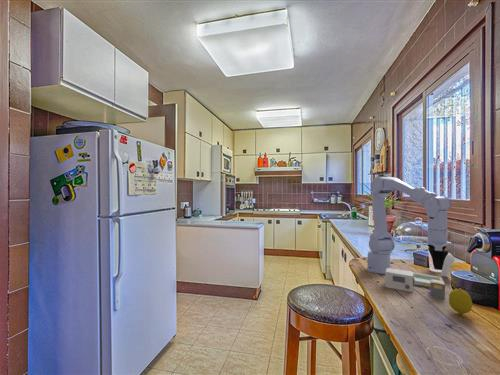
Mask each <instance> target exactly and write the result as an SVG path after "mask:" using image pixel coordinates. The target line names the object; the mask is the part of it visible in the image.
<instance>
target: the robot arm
mask: <svg viewBox="0 0 500 375" xmlns="http://www.w3.org/2000/svg"><path fill="white" fill-rule="evenodd" d="M370 186H371V187H370V188H371V193H370V194H371V205H372V207H371V208H372V218H373V232H372V233H371V234H370V235H369V240H368V248H369V249H370V250H368V252H367V272H368V273H373V274H380V275H385V276H386V269H387V268H391V254H392V252H393V251H394V250H395V242H394V240H393V235H392V234H391V233H390V232H388V222H387V212H386V211H387V210H386V200H385V198H386V197H387V196H389V195H390V194H392V193H393V192H394V191H396V190H397V191H399V192H401V193H404V194H405V195H408V196H409V199H410V200H411V201H413V202H415V203H416V204H418V205H420V206H422V207H423V208H424V210H425V212H426V216H427V240H426V243H427V245H426V246H427V247H428V248H427V252H428V251H429V252H430V254H431V257H432V261H433V266H434V269H436V270H442V268H443V264H444V260H445V258H446V256H447V254H448V253H450V252H449V250H445V249H447V246H452V242H450V241H448V211H450V210H451V208H452V200H450V199H449V198H448V197H447V196H446V195H440V196H438V194H437V193H436V192H431V191H429V190H427V189H426V187H424V186H418V187H413V186H412V185H409V184H408V183H406V182H404V181H402V180H401V179H400V178H397V177H395V176H385V177H384V176H376V177H374V178H373V179H372V180H371V182H370Z"/></svg>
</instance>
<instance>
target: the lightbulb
mask: <svg viewBox="0 0 500 375" xmlns="http://www.w3.org/2000/svg"><path fill="white" fill-rule="evenodd" d="M454 263H455V257H454V255H452V253H450V252H449V253H448V254H447V256H446V258H445V260H444V264H443V268H442V270H441V272H440V273H441V276H443V277H444V278H447V277H449V276H450V271H451V267H452V265H453V264H454Z"/></svg>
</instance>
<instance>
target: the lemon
mask: <svg viewBox="0 0 500 375" xmlns="http://www.w3.org/2000/svg"><path fill="white" fill-rule="evenodd" d="M448 296H449V297H448V302H449V305H450V307H451V309H452V310H454V311H455V312H457V313H458V314H459V315H463V314H467V313H470V312H471V310H472V309H473V300H472V297H471V295H470V294H469V293H468V292H467V291H466V290H464V289H462V288H461V287H460V288H456V289H453V290H451V291H450V293H449V295H448Z"/></svg>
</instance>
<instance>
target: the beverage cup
mask: <svg viewBox="0 0 500 375" xmlns="http://www.w3.org/2000/svg"><path fill="white" fill-rule="evenodd" d="M427 253H428V264H429V271H431V272H433V273H434V272H435V273H442V272H441V270H436V269H434V266H433V261H432V257H431V254H430V252H429V251H428V250H427Z"/></svg>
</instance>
